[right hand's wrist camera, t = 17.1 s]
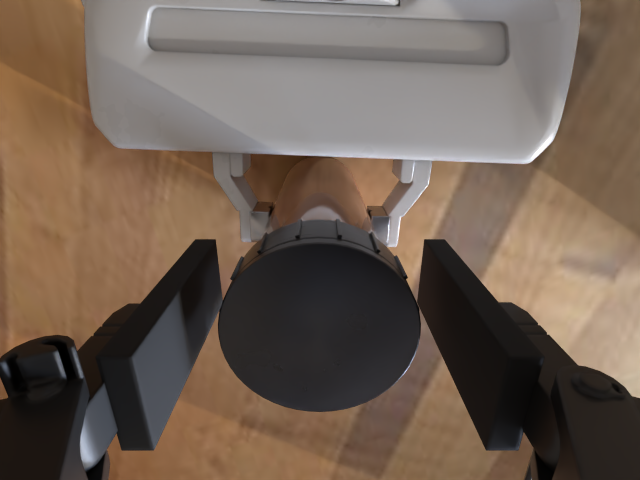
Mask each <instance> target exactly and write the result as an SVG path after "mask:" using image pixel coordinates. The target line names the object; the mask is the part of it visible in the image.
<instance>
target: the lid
mask: <svg viewBox="0 0 640 480" xmlns="http://www.w3.org/2000/svg"><path fill="white" fill-rule="evenodd" d="M407 278H408V277H407V275H406V273H405V271H404V269H403V267H402V265H401V262H400V260H399V258H398V257H397V255H396V256H395V257H394V255H393V254H392V253H391V251H390V250H389V249H388V248H387V247H386V246H385V245H384V244H383V243H382V242H381V241H379V240H378V239H377V238H376V237H375V235H374V233H373V232H371V233H368V232H367V231H365V230H362V229H360V228H358V227H356V226H353V225H350V224H347V223H344V222H340V219H336V221H333V220H320V219H318V220H305V221H302V219H298V222H295V223H292V224H289V225H286V226H283V227H281V228H278V229H276V230H274V231H272V232H271V233H269V234H268V233H267V232H266V233H265V234H264V235H263V237H262V239H260V240H259V241H258V242H257V243H256V244H255V245H254V246H253V247H252V248H251V249H250V250H249V251H248V253H247V254H246V255H245V257H242V256H241V258H240V260H239V262H238V264H237V266H236V268H235V270H234V272H233V274H232V276H231V278H230V279H231V280H232V282H231V284H230V286H229V289H228V291H227V293H226V295H225V297H224V300H223V302H222V305H221V307H220V310H219V320H218V334H219V340H220V345H221V349H222V351H223V354H224V357H225V359H226V361H227V362H228V364H229V366H230V368H231V369H232V370H233V372H234V373H235V374H236V376H237V377H238V378H239V379H240V380H241V381H242V382H243V383H244V384H245V385H246V386H247V387H249V388H250V389H251V390H252V391H254V392H255V393H257V394H258V395H260V396H261V397H263V398H265V399H267V400H269V401H271V402H273V403H276V404H279V405H281V406H284V407H288V408H292V409H296V410H303V411H312V412H326V411H336V410H343V409H347V408H351V407H355V406H358V405H360V404H363V403H366V402H368V401H370V400H372V399H374V398H376V397H378V396H379V395H381V394H382V393H384V392H385V391H387V390H388V389H389V388H390V387H391V386H393V385H394V384H395V383H396V382H397V381H398V380H399V379H400V378H401V377H402V376H403V374H404V373H405V372H406V370H407V369H408V367H409V366H410V364H411V362H412V360H413V358H414V356H415V353H416V351H417V348H418V344H419V339H420V330H421V322H420V314H419V307H418V305H417V302H416V300H415V298H414V296H413V294H412V291H411V289H410V287H409V285H408V283H407V281H406V279H407Z"/></svg>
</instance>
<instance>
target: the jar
mask: <svg viewBox="0 0 640 480" xmlns="http://www.w3.org/2000/svg"><path fill="white" fill-rule="evenodd" d="M298 219H302V221H305V220H318V219H320V220H333V221H336V219H340V222H344V223H347V224H350V225H353V226H356V227H358V228H360V229H362V230H365V231H367V232H368V233H371V232H373V233H374V235H375V237H376V238H377V239H378V240H379V238H378V236H377V233H376V231H375V229H374V226H373V224H372V221H371V219H370V216H369V214H368V211H367V209H366V206H365V204H364V201H363V199H362V196H361V194H360V191H359V189H358V186H357V184H356V181H355V179H354V177H353V175H352V173H351V172H350V170H349V169H348V168H347V167H346V166H345V165H344V164H343V163H341V162H340V161H338V160H336V159H334V158H331V157H326V156H313V157H309V158H306V159H304V160H302V161H300V162H299V163H297V164H296V165H295V166H294V167H293V168H292V169H291V170H290V171H289V173H288V174H287V176H286V178H285V180H284V183H283V185H282V188H281V190H280V193H279V195H278V198H277V200H276V202H275V205H274V207H273V210H272V212H271V215H270V217H269V219H268V222H267V224H266V227H265V229H264V232H263V234H262V237H263V235H264V234H265V233H266V232H267V233H268V234H269V233H271V232H272V231H274V230H276V229H278V228H281V227H283V226H286V225H289V224H292V223H295V222H298ZM262 237H261V239H262Z"/></svg>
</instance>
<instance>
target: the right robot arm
mask: <svg viewBox="0 0 640 480" xmlns="http://www.w3.org/2000/svg"><path fill="white" fill-rule="evenodd" d="M222 302H223V300H222V291H221V282H220V273H219V265H218V256H217V247H216V239H195V241H194V242H193V243H192V244H191V245H190V246H189V248H188V249H187V250H186V251H185V252H184V253H183V255H182V256H181V257H180V258H179V259H178V260H177V262H176V263H175V264H174V265H173V266H172V267H171V269H170V270H169V271H168V272H167V273H166V274H165V276H164V277H163V278H162V279H161V280H160V281H159V283H158V284H157V285H156V286H155V287H154V288H153V290H152V291H151V292H150V293H149V294H148V295H147V297H146V298H145V299H144V300H143V301H142V303H141V304H127V305H126V306H124V307H123V308H121V309H119V310H118V311H116V312H114V313H113V314H112V315H111V316H110V317H109V318H108V319H107V320H106V321H105V322H104V323H103V324H102V327H100V328H99V329H98V330H97V331H96V332H95V333H94V336H91V337H90V338H89V339H88V340H87V341H86V342H85V343H84V345H83V346H82V347H81V348H80V349H79V350H78V351H77V350H76V347H75V343H74V340H72V339H71V338H69V337H68V336H61V335H53V336H44V337H41V338H37V339H34V340H30V341H28V342H25V343H23V344H21V345H19V346H17V347H15V348H13V349H12V350H10V351H9V352H7V353H6V354H4V355H3V356H2V357H1V358H0V378H1V380H2V382H3V385H4V387H5V390H6V392H7V394H8V398H7V399H2V400H0V480H108V477H109V469H110V460H109V455H108V451H107V448H108V446H109V445H110V443H111V441H112V440H113V438H114V436H115V435H116V433H117V436H118V439H119V443H120V446H121V450H154V449H155V447H156V445H157V443H158V440H159V438H160V436H161V434H162V432H163V430H164V428H165V425H166V423H167V421H168V419H169V417H170V415H171V413H172V410H173V408H174V406H175V404H176V402H177V400H178V398H179V395H180V393H181V391H182V389H183V387H184V385H185V383H186V380H187V378H188V376H189V374H190V372H191V370H192V367H193V365H194V363H195V361H196V359H197V357H198V355H199V352H200V350H201V348H202V346H203V344H204V342H205V340H206V337H207V335H208V333H209V331H210V329H211V327H212V325H213V322H214V320H215V318H216V316H217V314H218V312H219V309H220V307H221V305H222ZM417 303H418V305H419V307H420V309H421V312H422V314H423V316H424V318H425V320H426V322H427V325H428V327H429V329H430V331H431V333H432V335H433V337H434V340H435V342H436V344H437V346H438V348H439V350H440V352H441V355H442V357H443V359H444V361H445V363H446V365H447V367H448V370H449V372H450V374H451V376H452V378H453V380H454V383H455V385H456V387H457V389H458V391H459V393H460V395H461V398H462V400H463V402H464V404H465V406H466V408H467V410H468V413H469V415H470V417H471V419H472V421H473V423H474V425H475V428H476V430H477V432H478V434H479V436H480V438H481V440H482V443H483V445H484V447H485V449H486V450H519V446H520V443H521V439H522V436H523V432H524V433H525V434H526V436H527V438H528V439H529V441H530V443H531V444H532V446H533V451H532V455H531V458H530V461H529V465H528V468H527V471H526V474H525V478H524V480H640V398H636V397H632V396H631V395H630V393H629V392H628V391H627V389H626V388H625V387H624V386H623V385H621V384H620V383H619V382H618V381H616V380H615V379H614V378H612V377H610V376H608V375H606V374H604V373H602V372H600V371H598V370H595V369H591V368H588V367H585V366H578V365H577V364H576V363H575V362H574V361H573V360H572V359H571V358H570V356H569V355H568V354H567V353H566V352H565V351H564V350H563V349H562V348H561V347H560V346H559V345H558V344H557V343H556V342H555V341H554V340H553V339H552V337H551V336H550V335H547V332H546V331H545V330H544V329H543V328H542V327H541V326H540V325H538V323H537V322H536V321H535V320H534V319H533V317H532V316H531V315H530V314H529V313H528V312H526V311H525V310H523V309H521V308H520V307H518V306H516V305H515V304H513V303H511V302H498V301H497V300H496V299H495V298H494V297H493V295H492V294H491V293H490V292H489V291H488V290H487V288H486V287H485V286H484V285H483V284H482V283H481V281H480V280H479V279H478V278H477V277H476V276H475V274H474V273H473V272H472V271H471V270H470V269H469V267H468V266H467V265H466V264H465V263H464V262H463V260H462V259H461V258H460V257H459V256H458V255H457V253H456V252H455V251H454V250H453V249H452V248H451V246H450V245H449V244H448V243H447V242H446V241H445V239H424V247H423V256H422V265H421V273H420V282H419V291H418V300H417Z"/></svg>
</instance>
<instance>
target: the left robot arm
mask: <svg viewBox="0 0 640 480" xmlns="http://www.w3.org/2000/svg"><path fill="white" fill-rule="evenodd" d="M81 1H82V4H83V6H84V30H85V57H86V72H87V83H88V93H89V101H90V109H91V114H92V118H93V122H94V124H95V126H96V127H97V128H98V129H99V130H100V132H101V133H102V134H103V135H104V136H105V137H106V138H107V139H108V141H109V142H110V143H111V144H112V145H113V146H115V147H117V148H121V149H145V150H171V151H197V152H212V157H213V171H214V177H215V179H216V180H217V182H218V183H219V185H220V186H221V188H222V189H223V191H224V192H225V194H226V195H227V197H228V198H229V200H230V201H231V203H232V204H233V206H234V207H235V209H236V210H237V211H239V212H240V232H241V240H242V242H258V241H259V240H260V239H261V237H262V234H263V232H264V229H265V227H266V224H267V222H268V219H269V217H270V215H271V212H272V210H273V202H258V200H257V198H256V196H255V194H254V193H253V191H252V189H251V188H250V186H249V184H248V182H247V181H246V179H245V177H244V175H243V174H244V173H245V172H246V171H247V170H248V169H249V168H250V167H251V154H276V155H302V156H328V157H354V158H380V159H393V168H392V172H393V173H394V175H395V176H396V177H397V178H398V179H399V181H398V183H397V184H396V186H395V187H394V189H393V190H392V192H391V193H390V195H389V196H388V198H387V199H386V200H385V202H384V203H383V205H382V206H367V211H368V214H369V216H370V219H371V221H372V224H373V226H374V229H375V231H376V233H377V236H378V238H379V241H381V242H382V243H383V244H384V245H385V246H386V247H396V246H397V242H398V235H399V227H400V219H401V217H403V216H404V215H405V214H406V213H407V211H408V210H409V209H410V208H411V206H412V205H413V204H414V202H415V201H416V200H417V199H418V197H419V196H420V195H421V194H422V192H423V191H424V190H425V189H426V187H427V186H428V185H429V179H430V173H431V166H432V161H459V162H485V163H511V164H527V163H530V162H532V161H533V160H534V159H535V158H536V157H537V156H538V155H540V154H541V153H542V152H543V151H544V150H545V149H546V148H547V147H548V146H549V145H550V144H551V143H552V141H553V140H554V138H555V135H556V133H557V130H558V127H559V124H560V121H561V117H562V113H563V109H564V106H565V102H566V98H567V93H568V89H569V84H570V80H571V75H572V70H573V65H574V59H575V54H576V48H577V41H578V35H579V27H580V17H581V3H580V0H81Z"/></svg>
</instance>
